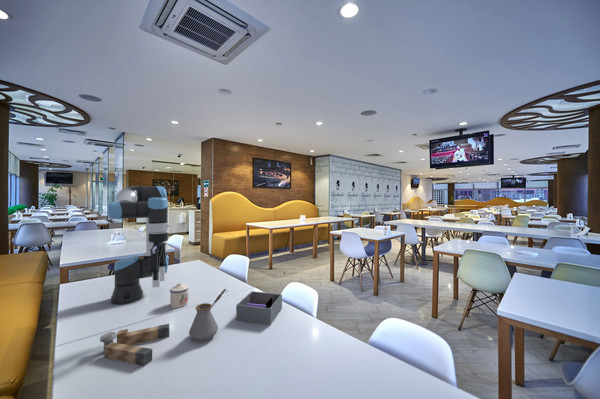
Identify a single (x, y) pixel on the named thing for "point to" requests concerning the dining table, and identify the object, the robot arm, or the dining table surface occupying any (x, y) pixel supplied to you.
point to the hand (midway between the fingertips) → (158, 283)
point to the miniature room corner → (262, 305)
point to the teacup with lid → (179, 296)
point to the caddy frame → (259, 308)
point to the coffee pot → (204, 322)
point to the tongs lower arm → (127, 353)
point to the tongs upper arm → (137, 335)
